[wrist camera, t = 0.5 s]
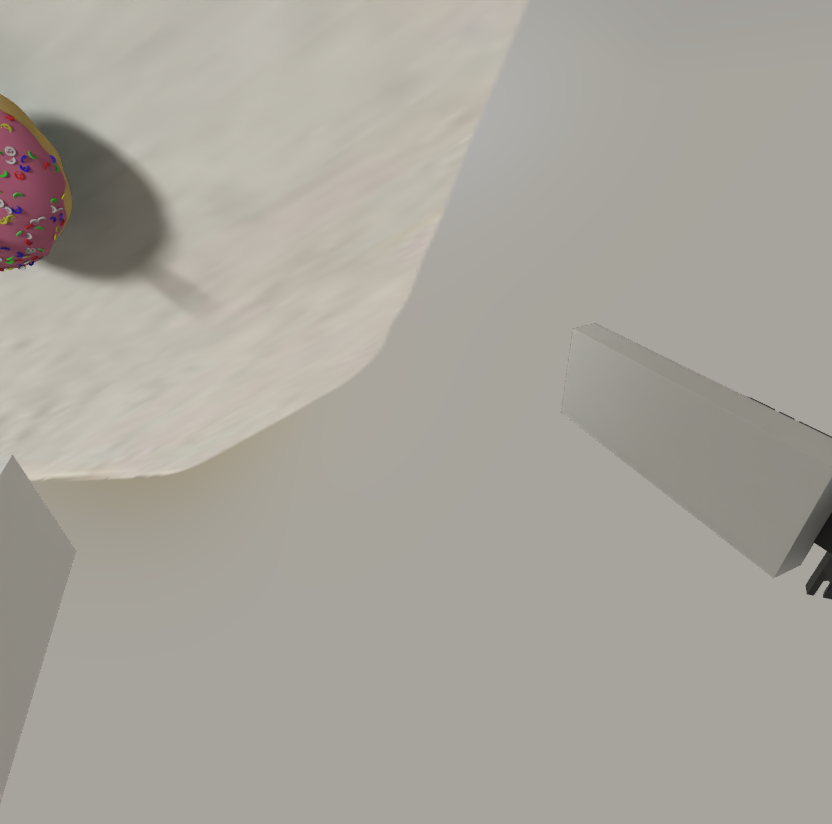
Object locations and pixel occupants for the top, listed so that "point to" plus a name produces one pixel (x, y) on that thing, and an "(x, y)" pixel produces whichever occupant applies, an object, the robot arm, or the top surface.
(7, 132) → the cupcake
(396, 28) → the top surface
